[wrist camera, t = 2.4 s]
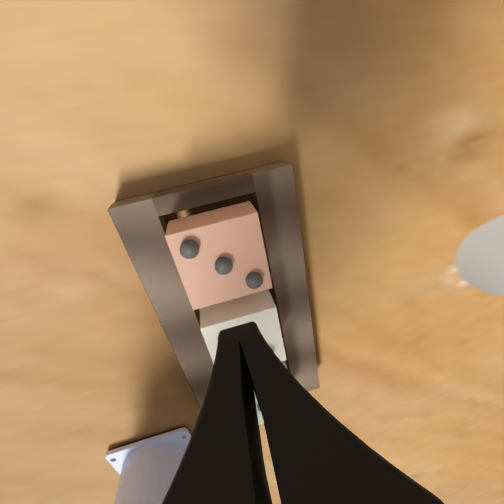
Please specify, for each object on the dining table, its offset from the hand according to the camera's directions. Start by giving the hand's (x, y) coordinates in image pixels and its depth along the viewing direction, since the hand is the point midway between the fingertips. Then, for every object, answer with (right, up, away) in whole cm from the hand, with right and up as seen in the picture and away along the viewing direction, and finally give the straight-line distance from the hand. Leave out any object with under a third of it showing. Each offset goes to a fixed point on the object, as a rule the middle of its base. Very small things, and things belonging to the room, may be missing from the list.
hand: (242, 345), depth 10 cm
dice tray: (-1, -1, +12) cm, 12 cm away
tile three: (-2, +4, +7) cm, 8 cm away
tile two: (0, -2, +10) cm, 10 cm away
